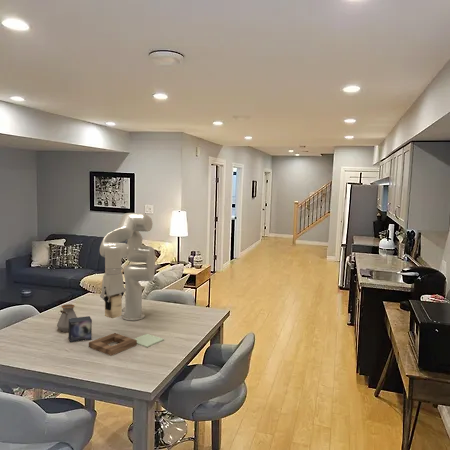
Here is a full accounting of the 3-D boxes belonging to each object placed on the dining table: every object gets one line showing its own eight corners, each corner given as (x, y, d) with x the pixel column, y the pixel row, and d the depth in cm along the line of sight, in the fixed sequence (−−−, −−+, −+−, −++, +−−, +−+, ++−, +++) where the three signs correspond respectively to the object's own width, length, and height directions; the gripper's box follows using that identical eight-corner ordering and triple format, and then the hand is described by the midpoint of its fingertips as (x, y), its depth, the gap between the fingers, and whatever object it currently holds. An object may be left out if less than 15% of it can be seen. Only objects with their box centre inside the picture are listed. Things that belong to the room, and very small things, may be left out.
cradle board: (88, 347, 198) (88, 342, 197) (114, 337, 211) (114, 332, 211) (111, 355, 189) (111, 350, 188) (136, 345, 202) (136, 340, 202)
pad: (129, 341, 206) (129, 340, 206) (147, 334, 216) (147, 333, 216) (147, 347, 199) (147, 346, 199) (164, 340, 209) (164, 339, 209)
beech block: (104, 316, 198) (104, 295, 197) (113, 313, 202) (113, 293, 201) (112, 318, 195) (112, 297, 194) (121, 315, 199) (121, 295, 198)
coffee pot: (60, 325, 225) (59, 299, 224) (81, 325, 227) (81, 298, 225) (48, 340, 204) (48, 311, 203) (72, 340, 206) (72, 311, 204)
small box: (69, 342, 202) (69, 322, 201) (68, 338, 208) (68, 318, 207) (92, 339, 207) (92, 319, 206) (89, 335, 213) (89, 315, 212)
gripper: (121, 267, 205) (121, 302, 207) (93, 272, 191) (93, 310, 193) (132, 269, 201) (132, 305, 203) (104, 275, 187) (104, 314, 189)
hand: (113, 307), depth 198 cm, fingers closed on beech block, 5 cm apart
